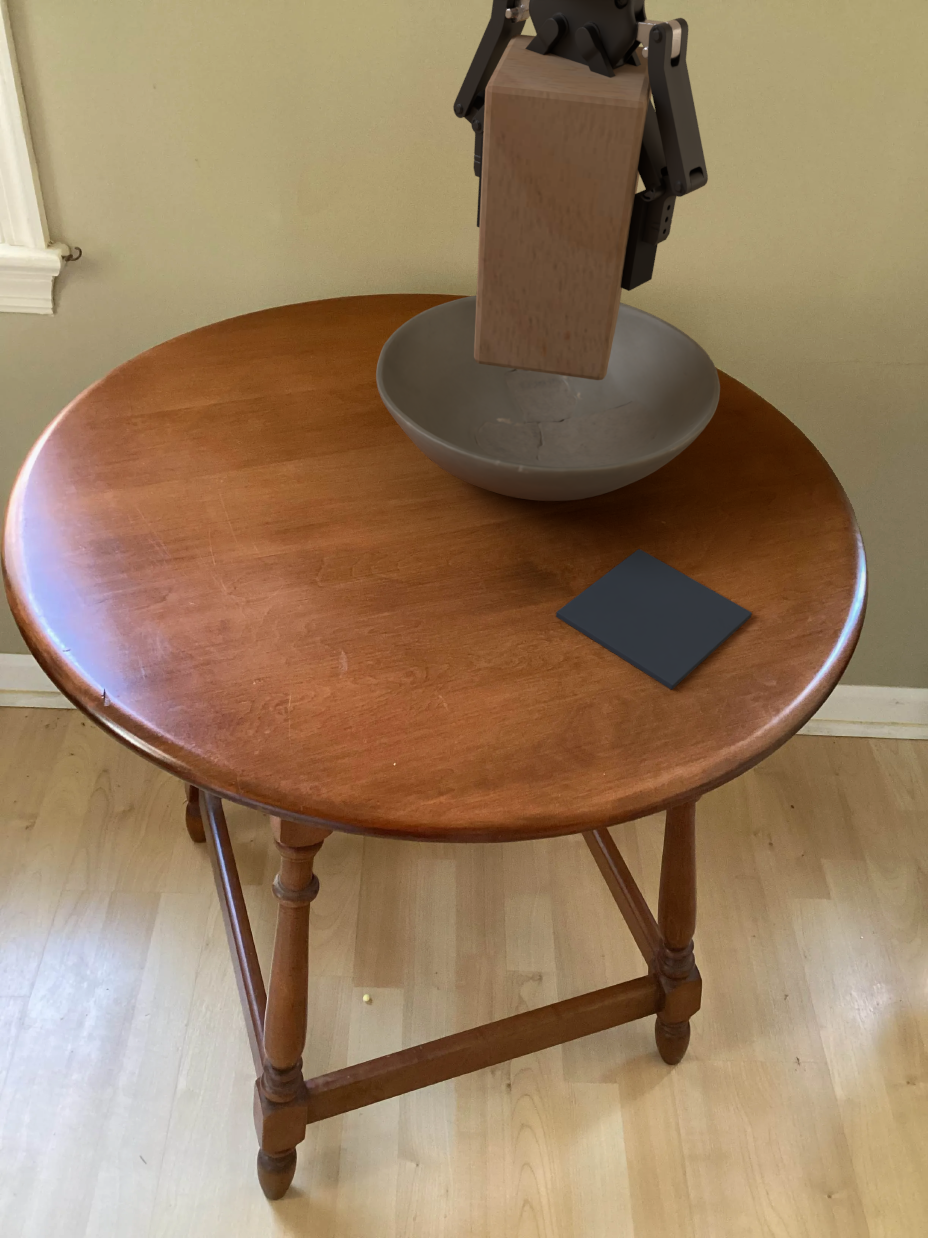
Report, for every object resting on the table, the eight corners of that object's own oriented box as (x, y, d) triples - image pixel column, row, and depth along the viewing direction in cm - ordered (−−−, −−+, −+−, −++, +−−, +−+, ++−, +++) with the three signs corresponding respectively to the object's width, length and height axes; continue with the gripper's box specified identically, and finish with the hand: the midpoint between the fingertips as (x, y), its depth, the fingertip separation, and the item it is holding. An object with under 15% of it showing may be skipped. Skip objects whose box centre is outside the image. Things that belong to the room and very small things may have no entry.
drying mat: (750, 617, 75) (752, 612, 75) (671, 690, 70) (673, 685, 69) (638, 553, 80) (639, 548, 79) (555, 616, 74) (556, 611, 74)
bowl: (729, 406, 95) (749, 324, 90) (656, 595, 76) (676, 505, 71) (451, 342, 102) (454, 261, 96) (320, 501, 83) (314, 411, 77)
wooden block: (604, 383, 77) (647, 99, 63) (472, 365, 78) (484, 82, 64) (618, 315, 84) (659, 45, 70) (496, 299, 85) (511, 30, 71)
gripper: (816, -62, 58) (733, 294, 73) (485, -130, 70) (470, 188, 85) (745, -44, 54) (672, 329, 69) (406, -120, 66) (405, 213, 81)
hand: (561, 252), depth 77 cm, fingers closed on wooden block, 13 cm apart
